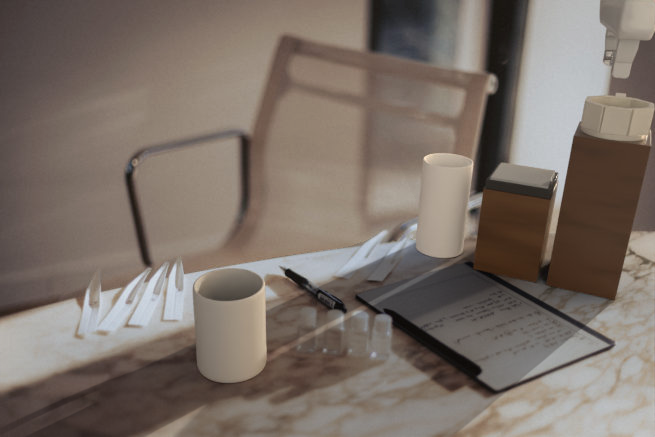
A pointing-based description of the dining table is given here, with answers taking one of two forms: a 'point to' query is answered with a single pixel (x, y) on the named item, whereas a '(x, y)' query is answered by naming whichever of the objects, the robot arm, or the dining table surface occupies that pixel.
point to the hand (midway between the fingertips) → (614, 70)
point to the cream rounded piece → (617, 117)
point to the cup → (443, 204)
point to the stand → (569, 220)
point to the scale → (522, 180)
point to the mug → (230, 324)
